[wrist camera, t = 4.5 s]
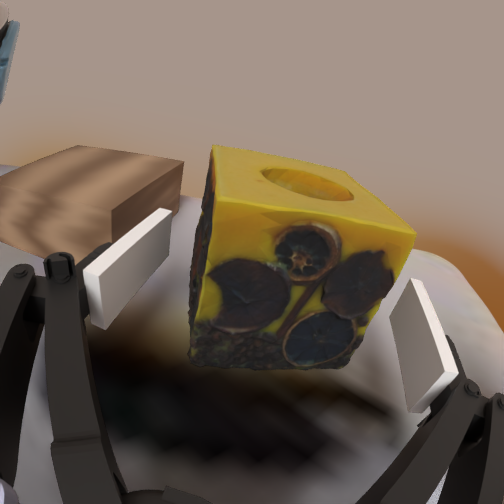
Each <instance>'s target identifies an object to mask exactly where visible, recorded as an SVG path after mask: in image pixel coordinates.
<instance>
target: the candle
mask: <svg viewBox="0 0 504 504" xmlns="http://www.w3.org/2000/svg"><path fill="white" fill-rule="evenodd" d="M201 208H202V213H201V216H200V219H199V223H198V225H197V228H196V233H195V242H194V248H193V257H192V261H191V262H192V265H191V267H190V268H191V271H190V284H189V288H190V296H189V307H190V310H189V311H188V314H189V322H188V323H189V324H190V337H191V339H190V349H189V351H188V353H187V354H188V356H189V358H190V361H191V363H192V364H194V365H196V366H199V367H202V366H205V365H209V366H217V367H221V368H233V367H235V368H251V369H253V370H273V369H302V370H308V369H312V368H321V369H327V368H332V369H340V368H343V367H344V366H346V365H347V364H348V363H349V361H350V358H351V356H352V355H353V353H354V351H355V349H357V348H358V347H359V345H360V344H361V342H362V341H363V337H364V334H365V330H366V328H367V326H368V325H369V323H370V321H371V320H372V318H373V317H374V315H375V314H376V312H377V311H378V309H379V307H380V304H381V301H382V299H383V298H385V297H386V295H387V294H388V292H389V291H390V290H391V288H392V287H393V285H394V283H395V282H396V280H397V278H398V276H399V274H400V272H401V270H402V268H403V266H404V264H405V262H406V260H407V258H408V256H409V254H410V252H411V250H412V247H413V244H414V242H415V239H416V236H417V233H416V232H415V231H414V230H413V229H412V228H411V227H410V226H409V225H408V224H407V223H406V222H405V221H404V220H402V219H401V218H400V217H399V216H398V215H397V214H395V213H394V212H393V211H392V210H391V209H390V208H388V207H387V206H386V205H385V204H384V203H383V202H382V201H381V200H380V199H379V198H377V197H376V196H375V195H373V194H372V193H371V192H369V191H368V190H367V189H365V188H364V187H362V186H361V185H360V184H359V183H357V182H356V181H355V180H354V179H353V178H352V177H350V176H349V175H348V174H347V173H346V172H345V171H342V170H338V169H334V168H331V167H326V166H321V165H318V164H314V163H309V162H305V161H301V160H296V159H291V158H286V157H281V156H276V155H270V154H265V153H261V152H256V151H251V150H245V149H239V148H232V147H225V146H219V145H212V150H211V153H210V160H209V169H208V173H207V178H206V186H205V192H204V196H203V200H202V206H201Z"/></svg>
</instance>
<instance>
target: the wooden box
mask: <svg viewBox="0 0 504 504" xmlns="http://www.w3.org/2000/svg"><path fill="white" fill-rule="evenodd" d="M183 166H184V162H183V161H178V160H173V159H167V158H162V157H156V156H149V155H144V154H138V153H130V152H124V151H117V150H110V149H103V148H95V147H87V146H75V147H71V148H69V149H66V150H63V151H61V152H58V153H55V154H53V155H50V156H47V157H44V158H42V159H39V160H37V161H34V162H32V163H30V164H27V165H25V166H22V167H20V168H18V169H16V170H13V171H11V172H9V173H7V174H4V175H2V176H0V241H1V242H3V243H6V244H8V245H11V246H13V247H16V248H18V249H21V250H23V251H26V252H28V253H31V254H33V255H36V256H38V257H41V258H44V259H45V258H46V257H47V256H48V255H51V254H53V253H56V252H67V253H70V254H71V255H73V257H74V260H75V265H76V264H77V263H79V262H80V261H81V260H82V259H83V258H85V257H87V255H88V254H90V253H91V252H93V250H95V249H96V248H97V247H98V246H100V245H102V244H105V243H107V242H111V243H116V242H117V241H118V240H119V239H120V238H122V237H123V236H124V235H125V234H127V233H128V232H129V231H130V230H132V229H133V228H134V227H135V226H137V225H138V224H139V223H141V222H142V221H143V220H144V219H146V218H147V217H148V216H150V215H151V214H152V213H154V212H155V211H156V210H157V209H159V208H163V209H166V210H170V211H172V218H173V216H174V215H175V214H176V213H177V212H178V207H179V198H180V190H181V181H182V174H183Z"/></svg>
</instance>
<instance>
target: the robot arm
mask: <svg viewBox="0 0 504 504" xmlns="http://www.w3.org/2000/svg"><path fill="white" fill-rule="evenodd" d="M8 14H9V9H8V6H7V5H6V4H5V3H3V2H2V1H0V104H1V103H2V101H3V99H4V95H5V90H6V86H7V81H8V76H9V72H10V67H11V63H12V58H13V54H14V50H15V45H16V41H17V37H18V33H19V26H20V23H19V22H16V21H13V20H12V21H10V22H8ZM171 221H172V211H170V210H166V209H163V208H159V209H157V210H156V211H155V212H154V213H152V214H151V215H150V216H148V217H147V218H146V219H144V220H143V221H142V222H141V223H139V224H138V225H137V226H135V227H134V228H133V229H132V230H130V231H129V232H128V233H127V234H125V235H124V236H123V237H122V238H120V239H119V240H118V241H117V242H116V243H111V242H107V243H105V244H102V245H100V246H98V247H97V248H96V249H95V250H93V252H91V253H90V254H88V255H87V257H85V258H83V259H82V260H81V261H80V262H79V263H77V264H76V265H75V260H74V257H73V255H71V254H70V253H67V252H56V253H53V254H51V255H48V256H47V257H46V258H45V260H44V262H43V264H44V269H45V274H46V277H43V276H36V275H35V272H34V269H33V267H32V266H31V265H29V264H19V265H16V266H14V267H13V268H11V269H10V270H9V272H8V273H7V275H6V277H5V279H4V280H3V282H2V284H1V286H0V504H20V503H19V499H18V496H17V494H16V492H15V491H14V489H13V486H14V481H15V477H16V471H17V463H18V452H19V442H20V434H21V426H22V419H23V413H24V407H25V401H26V396H27V391H28V386H29V381H30V377H31V372H32V368H33V364H34V360H35V356H36V352H37V348H38V345H39V341H40V338H41V334H42V331H43V327H44V324H45V364H46V380H47V391H48V401H49V410H50V417H51V424H52V430H53V437H54V441H53V442H52V443H51V455H52V460H53V465H54V470H55V474H56V478H57V482H58V486H59V490H60V494H61V497H62V501H63V504H212V503H210V502H208V501H207V500H205V499H203V498H201V497H198V496H195V495H192V494H189V493H186V492H183V491H180V490H177V489H174V488H171V487H169V486H166V488H165V490H164V491H161V490H139V491H133V492H129V493H128V490H127V488H126V485H125V483H124V480H123V478H122V475H121V473H120V471H119V468H118V466H117V463H116V460H115V457H114V454H113V451H112V448H111V444H110V441H109V438H108V434H107V431H106V427H105V423H104V419H103V416H102V412H101V408H100V403H99V399H98V395H97V390H96V386H95V381H94V376H93V371H92V365H91V359H90V354H89V347H88V341H87V334H86V326H85V321H84V319H85V318H86V317H87V316H88V314H90V319H91V324H93V325H96V326H98V327H100V328H102V329H104V330H106V329H107V328H108V327H109V325H110V324H111V323H112V322H113V320H114V319H115V318H116V317H117V315H118V314H119V313H120V312H121V311H122V309H123V308H124V307H125V306H126V305H127V303H128V302H129V301H130V300H131V299H132V297H133V296H134V295H135V294H136V293H137V291H138V290H139V289H140V288H141V287H142V286H143V284H144V283H145V282H146V281H147V280H148V279H149V277H150V276H151V275H152V274H153V273H154V272H155V270H156V269H157V268H158V267H159V266H160V265H161V264H162V262H163V261H164V260H165V259H166V258H167V257H168V256H169V245H170V233H171ZM389 318H390V322H391V326H392V330H393V335H394V339H395V344H396V348H397V353H398V358H399V363H400V368H401V373H402V378H403V384H404V390H405V396H406V402H407V409H408V412H413V413H422V412H423V411H425V410H426V408H427V407H428V406H429V405H430V409H431V413H430V414H429V415H428V416H427V417H426V418H425V419H423V420H422V421H421V422H420V423H419V424H418V425H417V426H418V427H419V426H420V427H419V428H418V430H417V431H416V432H415V434H414V435H413V437H412V438H411V439H410V441H409V442H408V443H407V445H406V446H405V447H404V449H403V450H402V451H401V453H400V454H399V455H398V456H397V458H396V459H395V460H394V461H393V463H392V464H391V465H390V466H389V467H388V469H387V470H386V471H385V472H384V473H383V474H382V476H381V477H380V478H379V479H378V480H377V481H376V482H375V483H374V485H373V486H372V487H371V488H370V489H369V490H368V491H367V492H366V493H365V494H364V495H363V496H362V497H361V498H360V499H359V500H358V501H357V502H356V503H355V504H426V503H427V501H428V500H429V498H430V497H431V495H432V494H433V492H434V490H435V489H436V487H437V486H438V484H439V482H440V481H441V479H442V477H443V476H444V474H445V472H446V470H447V469H448V467H449V469H448V472H447V475H446V479H445V482H444V485H443V488H442V491H441V494H440V497H439V500H438V503H437V504H502V501H503V496H504V395H503V394H501V393H496V394H495V395H494V396H493V397H492V398H491V399H488V398H486V397H484V396H481V392H480V389H479V387H478V385H477V384H476V383H475V382H473V381H472V380H470V379H467V378H466V375H465V372H464V370H463V367H462V364H461V361H460V359H459V356H458V353H456V352H457V351H456V348H455V346H454V343H453V342H452V340H451V339H450V338H449V336H448V335H445V334H444V332H443V329H442V327H441V324H440V322H439V319H438V317H437V314H436V312H435V310H434V307H433V305H432V303H431V301H430V298H429V296H428V294H427V292H426V290H425V287H424V285H423V283H422V281H419V280H415V279H412V278H410V280H409V282H408V284H407V285H406V287H405V289H404V291H403V293H402V295H401V297H400V299H399V300H398V302H397V304H396V306H395V308H394V309H393V311H392V313H391V315H390V317H389Z"/></svg>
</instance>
